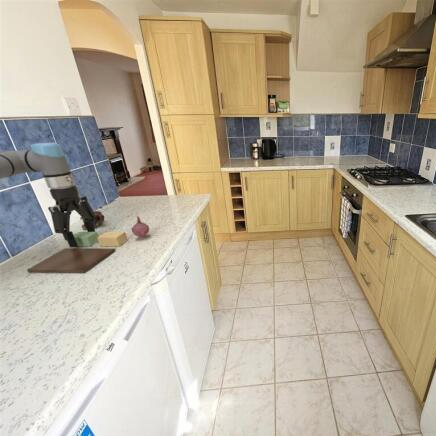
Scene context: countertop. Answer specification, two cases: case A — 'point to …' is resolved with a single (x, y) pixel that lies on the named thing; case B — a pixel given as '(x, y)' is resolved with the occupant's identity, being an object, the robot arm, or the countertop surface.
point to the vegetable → (140, 228)
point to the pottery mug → (98, 219)
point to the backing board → (72, 260)
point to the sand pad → (112, 239)
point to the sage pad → (86, 238)
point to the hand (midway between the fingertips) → (84, 241)
